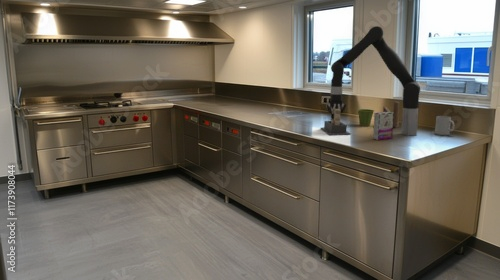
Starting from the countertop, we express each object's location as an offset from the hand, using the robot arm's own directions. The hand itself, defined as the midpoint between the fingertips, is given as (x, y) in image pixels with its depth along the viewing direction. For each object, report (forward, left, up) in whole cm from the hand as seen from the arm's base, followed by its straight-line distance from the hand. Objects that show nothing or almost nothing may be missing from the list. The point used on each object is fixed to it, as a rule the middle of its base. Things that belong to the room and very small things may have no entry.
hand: (335, 119), depth 265 cm
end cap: (0, 0, -9) cm, 9 cm away
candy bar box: (-25, -22, -9) cm, 35 cm away
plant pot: (+19, -28, -9) cm, 35 cm away
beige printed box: (0, 0, -7) cm, 7 cm away
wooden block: (+12, -44, -9) cm, 46 cm away
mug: (-18, -67, -9) cm, 70 cm away
